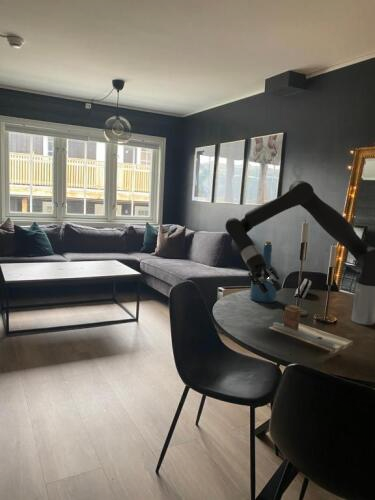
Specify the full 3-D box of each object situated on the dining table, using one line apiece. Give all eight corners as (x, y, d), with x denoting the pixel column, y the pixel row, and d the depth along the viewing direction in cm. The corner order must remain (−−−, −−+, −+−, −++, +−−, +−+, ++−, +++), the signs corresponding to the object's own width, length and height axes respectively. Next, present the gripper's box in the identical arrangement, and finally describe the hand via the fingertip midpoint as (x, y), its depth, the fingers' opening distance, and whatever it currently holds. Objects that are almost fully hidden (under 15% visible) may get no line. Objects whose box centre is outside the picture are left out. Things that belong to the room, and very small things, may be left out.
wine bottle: (281, 302, 193) (287, 243, 189) (261, 304, 186) (267, 243, 182) (262, 295, 204) (268, 239, 200) (243, 297, 197) (248, 239, 193)
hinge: (296, 290, 221) (304, 275, 219) (303, 294, 220) (311, 279, 218) (294, 296, 205) (302, 280, 203) (302, 301, 204) (311, 284, 202)
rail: (275, 326, 150) (275, 321, 150) (334, 347, 132) (335, 342, 132) (272, 327, 149) (273, 321, 149) (332, 348, 131) (333, 343, 130)
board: (291, 324, 159) (292, 320, 159) (352, 345, 140) (353, 341, 139) (267, 331, 149) (268, 327, 148) (330, 354, 129) (330, 350, 129)
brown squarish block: (289, 326, 151) (291, 304, 150) (298, 330, 148) (300, 307, 146) (283, 328, 148) (285, 306, 147) (292, 332, 145) (294, 309, 144)
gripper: (247, 254, 154) (267, 288, 147) (269, 252, 163) (289, 284, 156) (236, 264, 158) (255, 298, 151) (258, 262, 168) (277, 294, 161)
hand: (272, 291), depth 154 cm, fingers open, 8 cm apart
